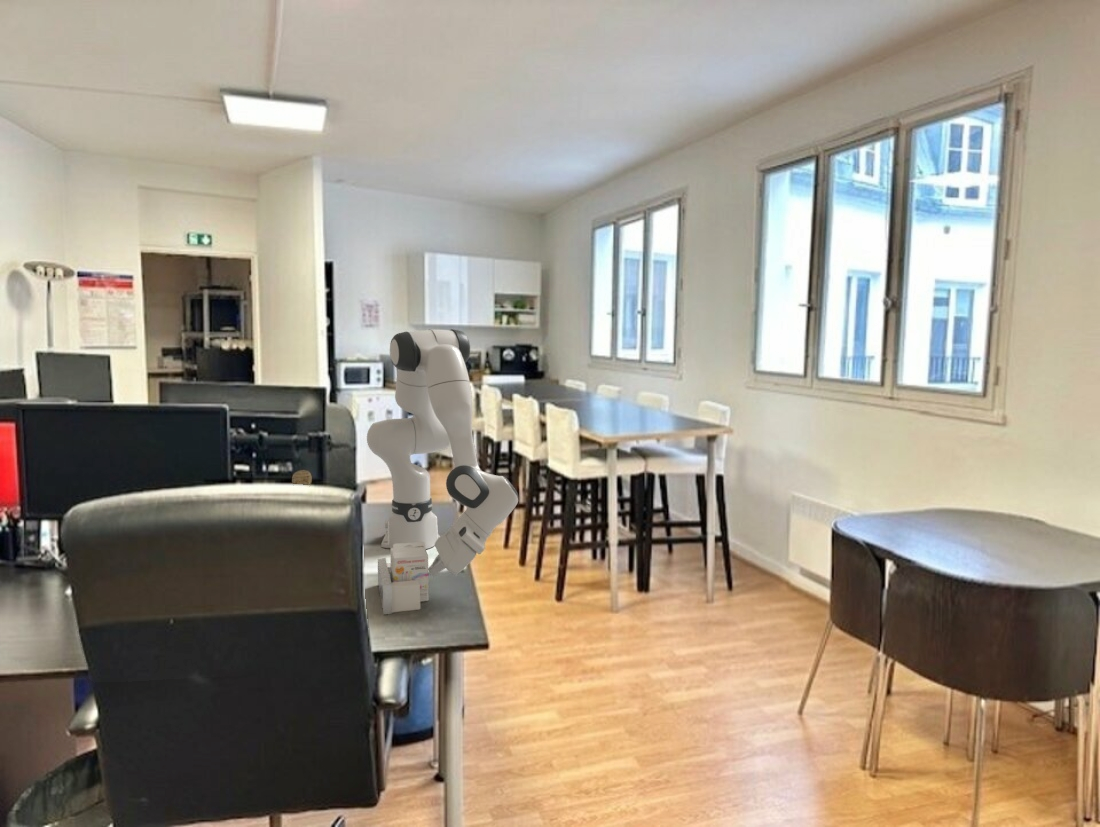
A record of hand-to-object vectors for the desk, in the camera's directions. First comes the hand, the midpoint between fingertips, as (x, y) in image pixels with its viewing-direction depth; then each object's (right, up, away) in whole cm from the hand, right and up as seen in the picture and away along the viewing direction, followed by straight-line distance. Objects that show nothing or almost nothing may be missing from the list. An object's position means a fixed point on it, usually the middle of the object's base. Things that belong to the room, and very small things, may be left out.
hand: (430, 573), depth 181 cm
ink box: (-5, -6, -1) cm, 8 cm away
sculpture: (-33, -5, +7) cm, 35 cm away
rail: (-11, -6, -2) cm, 13 cm away
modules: (-7, -6, -1) cm, 9 cm away
